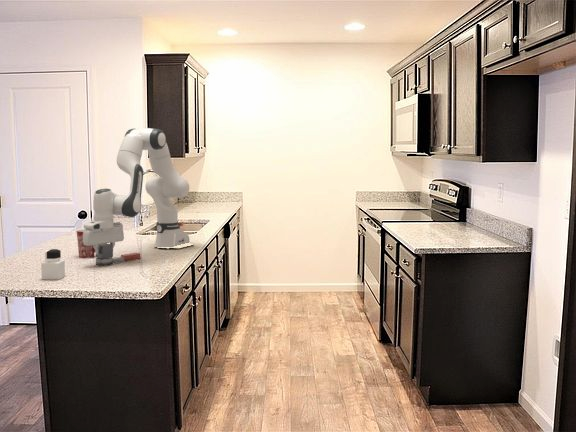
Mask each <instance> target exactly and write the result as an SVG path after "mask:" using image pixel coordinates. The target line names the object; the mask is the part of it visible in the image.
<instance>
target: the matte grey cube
mask: <svg viewBox="0 0 576 432" xmlns="http://www.w3.org/2000/svg"><path fill="white" fill-rule="evenodd" d="M97 248H98V250H100V254H96V253H95V258H101V259H105V258H111V257H112V258H114V248H113V245H112V244H110V243H105V244H98V247H97Z"/></svg>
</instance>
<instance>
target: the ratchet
mask: <svg viewBox="0 0 576 432" xmlns="http://www.w3.org/2000/svg"><path fill="white" fill-rule="evenodd" d="M136 259H138V260H141V253H139V252H132V253H125V254H121V255H120V256H115V257H114V256H113V257H111V258H105V259H101V258H97V257H95V266H99V267H108V266H112V265H113V264H118V263H124V262H131V261H136Z"/></svg>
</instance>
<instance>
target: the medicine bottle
mask: <svg viewBox="0 0 576 432" xmlns="http://www.w3.org/2000/svg"><path fill="white" fill-rule="evenodd" d="M61 255H62V254H61V250H60V249H57V248H50V249H47V250H45V251H44V259H45V260H44V261H43V262H41V264H40V265H41V268H40V269H41V280H45V281H47V280H50V281H51V280H52V281H57V280H58V281H59V280H60V279H62V278H64V277H66V276H65V275H66V272H65V271H66V270H65V269H66V267H65V266H66V265H65V259H62V258H61Z"/></svg>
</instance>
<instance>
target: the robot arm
mask: <svg viewBox="0 0 576 432" xmlns="http://www.w3.org/2000/svg"><path fill="white" fill-rule="evenodd" d="M123 137H124V138H123V139H122V141H121V144H120V146H119V148H118V151H117V155H116V165H117V166H118V168H119V169H120V170H121V171H122V172H123V173H125V174H127V175H128V176H130V186H129V193H128V195H119V194H116V193H115V192H113V191H112V189H110V188H100V189H97V190H95V192H94V194H93V202H92V203H93V204H92V205H93V214H94V215H93V219H92V220H90V221H88V222H86V223H84V224H83V229H85V230H84V232H83V244H84V245H86V246H91V245H93V248H94V249H95V253H94V254H95V255H96V254H100V250H98V248H97V247H98V244H105V243H107V244H112V245H113V249H114V248H115V245H116V243H118V242H123V241H124V239H125V233H124V227H123V226H124V225H123V223H121V222H120V221H117V222H114V216H125V217H128V218H135V217H137V216H138V214H139V213H140V212H141V209H142V193H143V182H144V168H143V166H142V165H141V160H142V156H143V151H147V155H148V157H149V158H148V159H149V161H150V162H149V163H150V167H151V169H152V171H153V173H155V174H156V175H158V176H155V177H149V178H147V180H146V182H145V191H146V193H147V194H148V195H149V196H150V198H151V199H152V200H153V202H154V205H155V208H156V218H157V219H156V236H155V237H156V238H155V243H154V248H155V247H174V246H177V245H181V244H185V243H189V242H190V235H189V234H188V233H187V232H185V231H184V230H183V229H182V228H181V227H183V226H184V222H178V215H179V214H178V212H179V211H178V207H177V206H176V204H175V205H174V204H173V203H172V201H171V200H170V198H176V199H178V198H185V197H186V196H188V194H189V192H190V183H189V182H188V181H187V180H186V179H185V178H183V177H182V176H181V175H180V174H179V172H178V171H177V170H176V168H175V167H174V164H173V161H172V157H171V153H170V149H169V146H168V143H167V137H166V134H165V132H164V131H163V130H162V129H159V128H149V127H143V128H131V129H130V128H129V129H128V130H127V131H126V132H125V134H124V136H123ZM190 243H191V242H190Z"/></svg>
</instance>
